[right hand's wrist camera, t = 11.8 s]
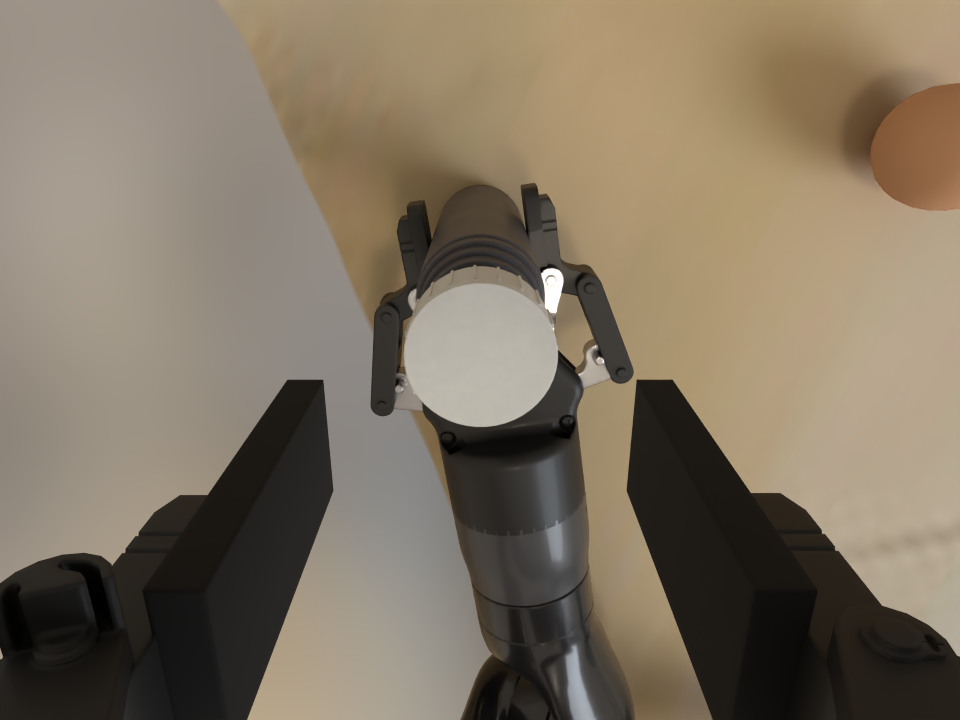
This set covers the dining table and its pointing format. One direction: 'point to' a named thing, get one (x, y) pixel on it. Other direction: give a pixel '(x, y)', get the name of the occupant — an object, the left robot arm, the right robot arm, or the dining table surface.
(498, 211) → the bottle
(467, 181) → the dining table surface
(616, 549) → the dining table surface
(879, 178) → the egg
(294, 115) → the dining table surface
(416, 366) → the cap
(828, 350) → the dining table surface
